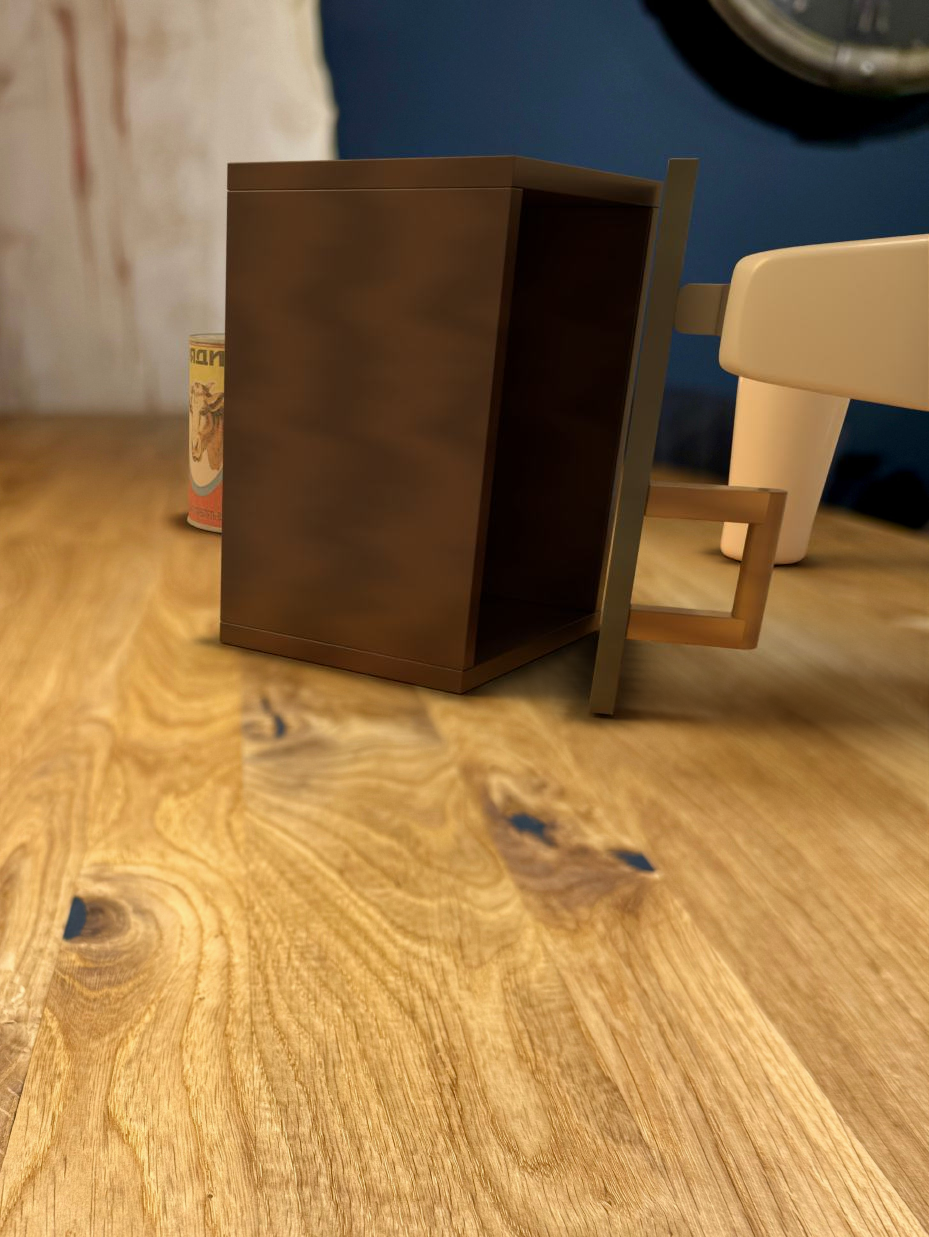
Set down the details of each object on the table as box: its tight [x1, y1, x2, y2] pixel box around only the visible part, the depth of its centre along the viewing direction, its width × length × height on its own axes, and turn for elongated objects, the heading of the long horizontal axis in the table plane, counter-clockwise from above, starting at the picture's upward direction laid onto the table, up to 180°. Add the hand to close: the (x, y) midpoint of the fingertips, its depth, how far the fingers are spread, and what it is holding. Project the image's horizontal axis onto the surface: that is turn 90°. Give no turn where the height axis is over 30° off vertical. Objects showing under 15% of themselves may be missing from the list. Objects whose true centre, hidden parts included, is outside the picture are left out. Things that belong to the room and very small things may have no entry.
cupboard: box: [219, 154, 665, 695], centre depth 60 cm, size 13×15×20 cm
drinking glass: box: [719, 376, 851, 565], centre depth 82 cm, size 7×7×15 cm
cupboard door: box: [588, 157, 788, 715], centre depth 55 cm, size 6×15×20 cm, turn 164°
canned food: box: [187, 332, 225, 534], centre depth 90 cm, size 11×11×12 cm
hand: (685, 307), depth 52 cm, fingers closed
